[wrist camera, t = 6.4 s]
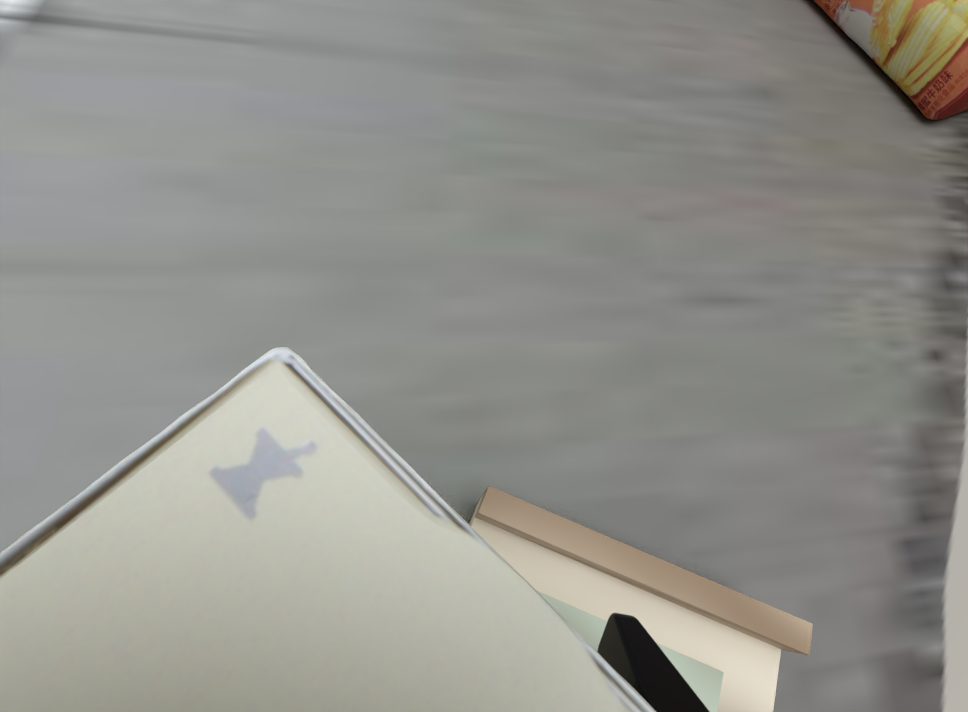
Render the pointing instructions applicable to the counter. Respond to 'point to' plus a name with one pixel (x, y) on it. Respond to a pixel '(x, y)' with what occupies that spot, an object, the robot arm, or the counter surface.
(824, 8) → the snack package
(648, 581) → the stand
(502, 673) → the skincare box
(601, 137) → the counter surface
